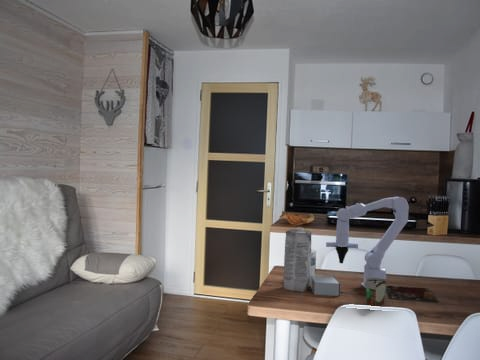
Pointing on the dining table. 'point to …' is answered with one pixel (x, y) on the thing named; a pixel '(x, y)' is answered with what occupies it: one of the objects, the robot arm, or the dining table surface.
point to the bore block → (325, 285)
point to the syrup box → (313, 263)
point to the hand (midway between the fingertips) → (341, 262)
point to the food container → (375, 291)
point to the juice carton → (297, 260)
